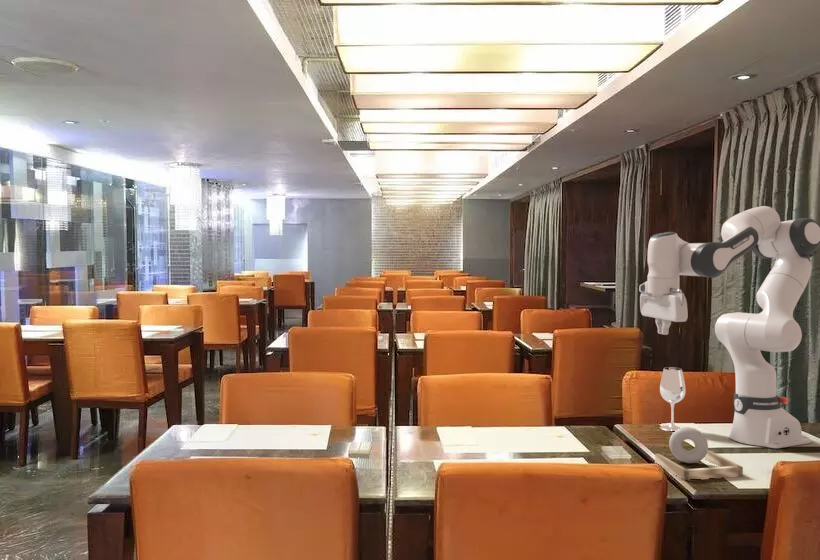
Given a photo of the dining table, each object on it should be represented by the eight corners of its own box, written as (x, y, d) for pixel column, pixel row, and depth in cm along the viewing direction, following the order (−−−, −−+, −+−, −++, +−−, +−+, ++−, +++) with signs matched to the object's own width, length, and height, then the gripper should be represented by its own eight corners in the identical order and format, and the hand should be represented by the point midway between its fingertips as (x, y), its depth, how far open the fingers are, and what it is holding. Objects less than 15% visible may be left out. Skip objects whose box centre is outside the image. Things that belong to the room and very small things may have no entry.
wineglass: (672, 433, 209) (672, 371, 208) (654, 427, 216) (654, 367, 215) (690, 430, 212) (691, 369, 211) (672, 424, 219) (672, 365, 218)
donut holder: (708, 458, 183) (708, 450, 183) (742, 476, 169) (742, 466, 169) (654, 462, 181) (654, 453, 181) (684, 480, 166) (684, 471, 166)
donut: (708, 463, 180) (708, 427, 179) (708, 467, 177) (708, 430, 176) (669, 458, 184) (669, 423, 183) (668, 462, 181) (668, 426, 180)
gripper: (693, 289, 182) (693, 338, 182) (655, 285, 202) (655, 329, 203) (673, 289, 181) (672, 339, 181) (636, 285, 201) (636, 330, 202)
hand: (663, 334), depth 192 cm, fingers closed
